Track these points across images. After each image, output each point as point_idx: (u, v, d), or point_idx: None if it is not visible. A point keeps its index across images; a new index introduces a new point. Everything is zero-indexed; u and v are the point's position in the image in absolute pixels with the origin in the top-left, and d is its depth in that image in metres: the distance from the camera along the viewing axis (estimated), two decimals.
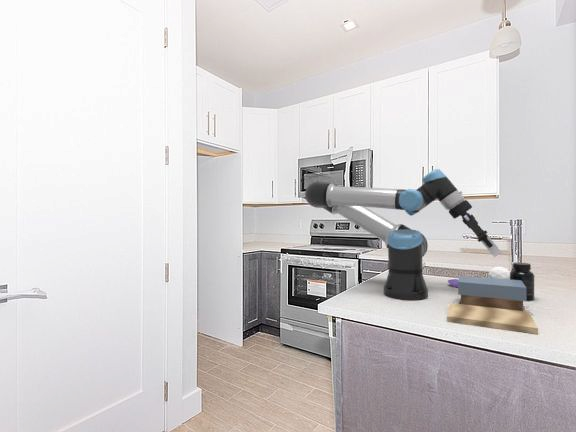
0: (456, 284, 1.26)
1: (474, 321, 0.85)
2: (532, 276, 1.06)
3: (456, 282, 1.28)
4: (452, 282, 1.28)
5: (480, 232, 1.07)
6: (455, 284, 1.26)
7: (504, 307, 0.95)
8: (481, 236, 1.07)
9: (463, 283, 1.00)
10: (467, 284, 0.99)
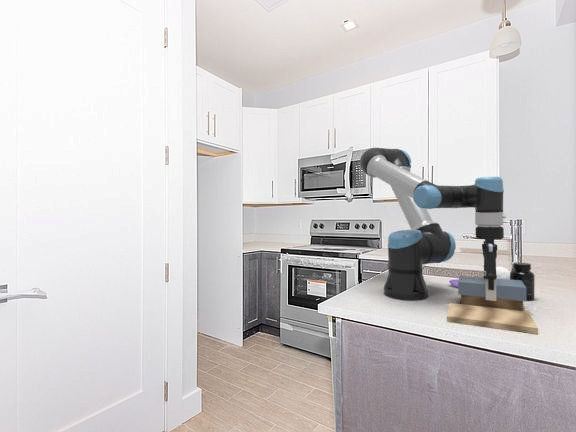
0: None
1: (474, 321, 0.85)
2: (532, 276, 1.06)
3: None
4: (453, 282, 1.27)
5: (492, 271, 0.93)
6: (457, 284, 1.26)
7: (504, 307, 0.95)
8: (490, 275, 0.93)
9: (463, 283, 1.00)
10: (467, 284, 0.99)
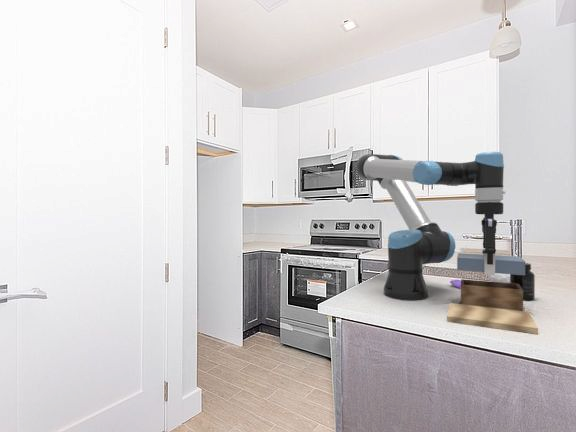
0: (458, 285, 1.25)
1: (474, 321, 0.85)
2: (532, 276, 1.06)
3: (458, 283, 1.27)
4: (454, 283, 1.26)
5: (491, 245, 0.93)
6: (458, 285, 1.25)
7: (504, 307, 0.95)
8: (489, 250, 0.93)
9: (462, 258, 1.00)
10: (466, 259, 0.99)
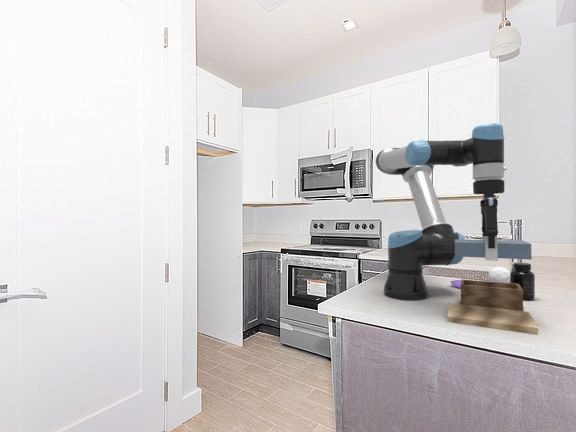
0: (459, 285, 1.25)
1: (474, 321, 0.85)
2: (532, 276, 1.06)
3: (459, 283, 1.26)
4: (455, 283, 1.26)
5: (493, 226, 0.83)
6: (458, 285, 1.25)
7: (504, 307, 0.95)
8: (491, 231, 0.83)
9: (460, 243, 0.89)
10: (465, 244, 0.89)
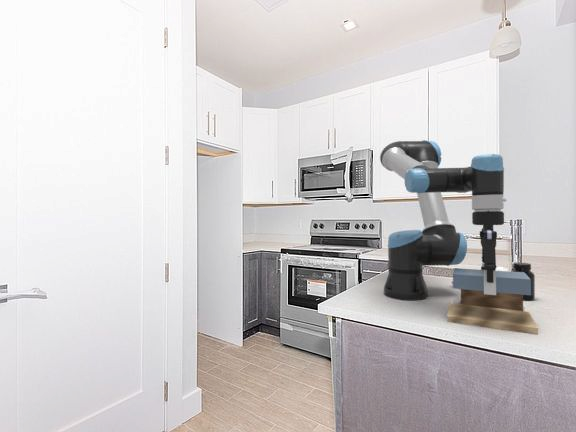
0: None
1: (474, 321, 0.85)
2: (532, 276, 1.06)
3: None
4: None
5: (491, 261, 0.81)
6: None
7: (504, 307, 0.95)
8: (489, 266, 0.81)
9: (458, 275, 0.88)
10: (463, 276, 0.87)
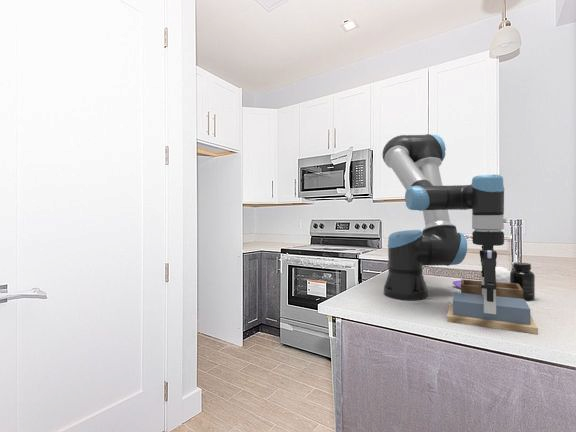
0: None
1: (474, 321, 0.85)
2: (532, 276, 1.06)
3: None
4: (457, 284, 1.25)
5: (491, 280, 0.81)
6: (460, 285, 1.24)
7: None
8: (489, 285, 0.80)
9: (458, 302, 0.88)
10: (463, 303, 0.88)
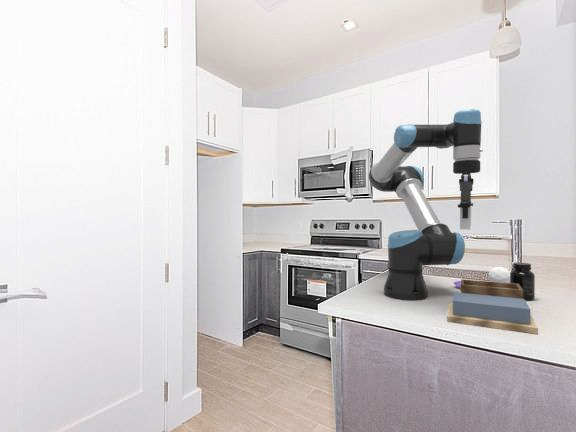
0: None
1: (474, 321, 0.85)
2: (532, 276, 1.06)
3: None
4: (458, 284, 1.24)
5: (466, 199, 0.93)
6: None
7: None
8: (464, 203, 0.93)
9: (458, 302, 0.88)
10: (463, 303, 0.88)
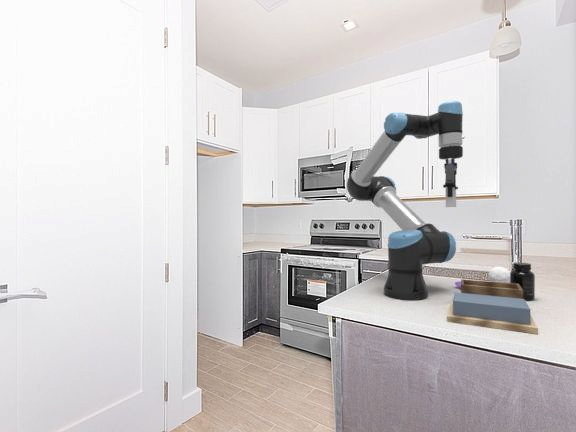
0: None
1: (474, 321, 0.85)
2: (532, 276, 1.06)
3: None
4: (459, 284, 1.24)
5: (450, 179, 1.04)
6: None
7: None
8: (448, 182, 1.04)
9: (458, 302, 0.88)
10: (463, 303, 0.88)
